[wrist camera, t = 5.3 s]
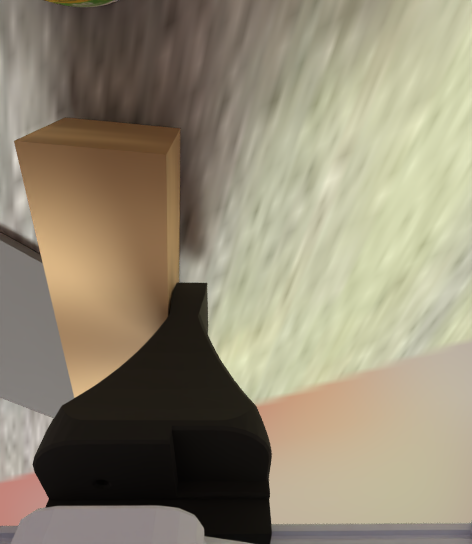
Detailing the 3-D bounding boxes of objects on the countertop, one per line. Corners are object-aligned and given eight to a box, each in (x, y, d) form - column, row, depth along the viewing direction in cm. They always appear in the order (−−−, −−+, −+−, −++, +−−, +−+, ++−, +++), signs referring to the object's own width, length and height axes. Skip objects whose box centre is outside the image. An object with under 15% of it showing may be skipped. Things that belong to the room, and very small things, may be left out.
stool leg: (178, 435, 20) (171, 494, 17) (112, 433, 20) (95, 492, 17) (181, 128, 11) (168, 154, 8) (63, 117, 11) (11, 140, 8)
